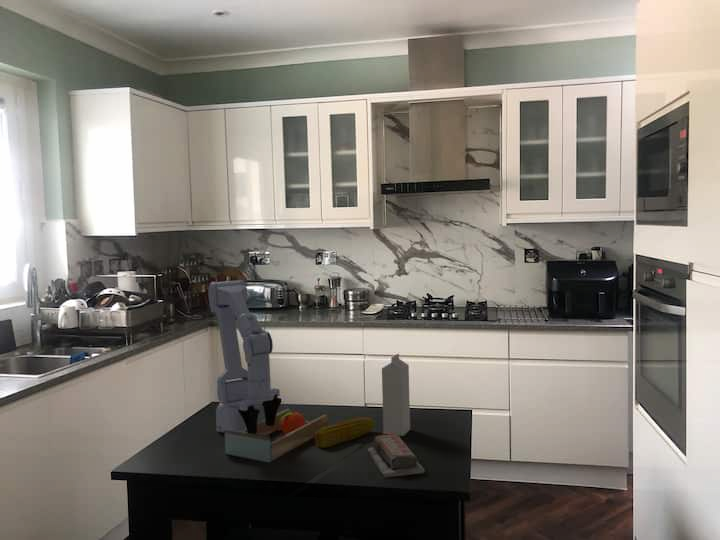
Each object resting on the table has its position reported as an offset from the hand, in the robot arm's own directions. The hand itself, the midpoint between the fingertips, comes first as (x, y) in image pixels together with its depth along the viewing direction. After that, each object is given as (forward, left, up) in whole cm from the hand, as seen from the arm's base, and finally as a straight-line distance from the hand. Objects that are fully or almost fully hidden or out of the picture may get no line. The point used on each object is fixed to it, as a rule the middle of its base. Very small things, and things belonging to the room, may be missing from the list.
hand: (261, 429), depth 169 cm
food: (+15, +18, -7) cm, 24 cm away
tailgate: (0, -5, -5) cm, 8 cm away
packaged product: (+34, +10, -7) cm, 36 cm away
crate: (0, +8, -6) cm, 10 cm away
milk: (+25, +30, -6) cm, 39 cm away
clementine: (0, +14, -6) cm, 15 cm away
